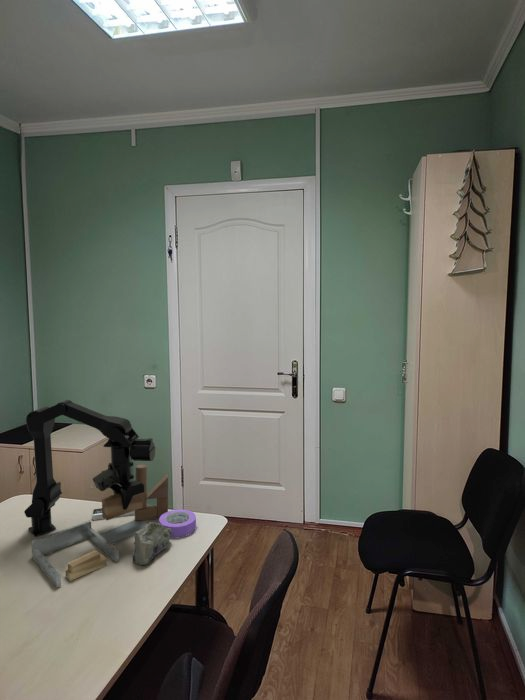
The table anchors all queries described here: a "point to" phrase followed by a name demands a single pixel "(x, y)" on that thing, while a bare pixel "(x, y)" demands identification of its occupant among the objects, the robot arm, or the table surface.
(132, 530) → the rubber mat
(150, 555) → the mineral rock
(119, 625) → the table surface
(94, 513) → the multiport hub
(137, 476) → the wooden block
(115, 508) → the walnut panel
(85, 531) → the frame
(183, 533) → the masking tape
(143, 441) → the robot arm
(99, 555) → the offcut stack
